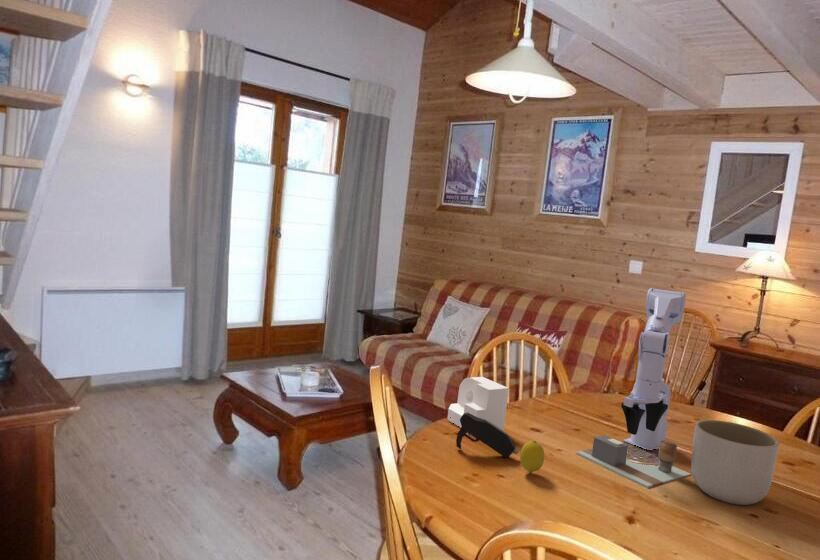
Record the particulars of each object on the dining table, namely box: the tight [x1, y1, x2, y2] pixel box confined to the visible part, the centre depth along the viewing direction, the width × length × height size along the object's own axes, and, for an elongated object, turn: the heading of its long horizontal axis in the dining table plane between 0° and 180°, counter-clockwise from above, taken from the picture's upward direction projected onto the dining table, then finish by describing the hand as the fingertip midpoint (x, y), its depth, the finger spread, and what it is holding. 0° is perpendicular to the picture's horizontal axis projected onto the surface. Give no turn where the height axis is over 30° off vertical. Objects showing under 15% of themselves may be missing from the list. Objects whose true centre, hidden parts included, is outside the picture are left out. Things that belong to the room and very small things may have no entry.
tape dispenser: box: [446, 376, 510, 432], centre depth 169 cm, size 16×10×13 cm, turn 32°
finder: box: [592, 434, 629, 467], centre depth 150 cm, size 4×7×5 cm, turn 34°
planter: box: [690, 419, 780, 506], centre depth 136 cm, size 17×17×15 cm
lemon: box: [519, 439, 545, 474], centre depth 138 cm, size 6×6×8 cm
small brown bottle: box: [657, 440, 678, 473], centre depth 146 cm, size 4×4×7 cm
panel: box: [575, 448, 692, 489], centre depth 150 cm, size 18×21×1 cm
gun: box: [455, 413, 519, 458], centre depth 148 cm, size 3×16×10 cm, turn 78°
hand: (641, 431), depth 148 cm, fingers open, 7 cm apart
